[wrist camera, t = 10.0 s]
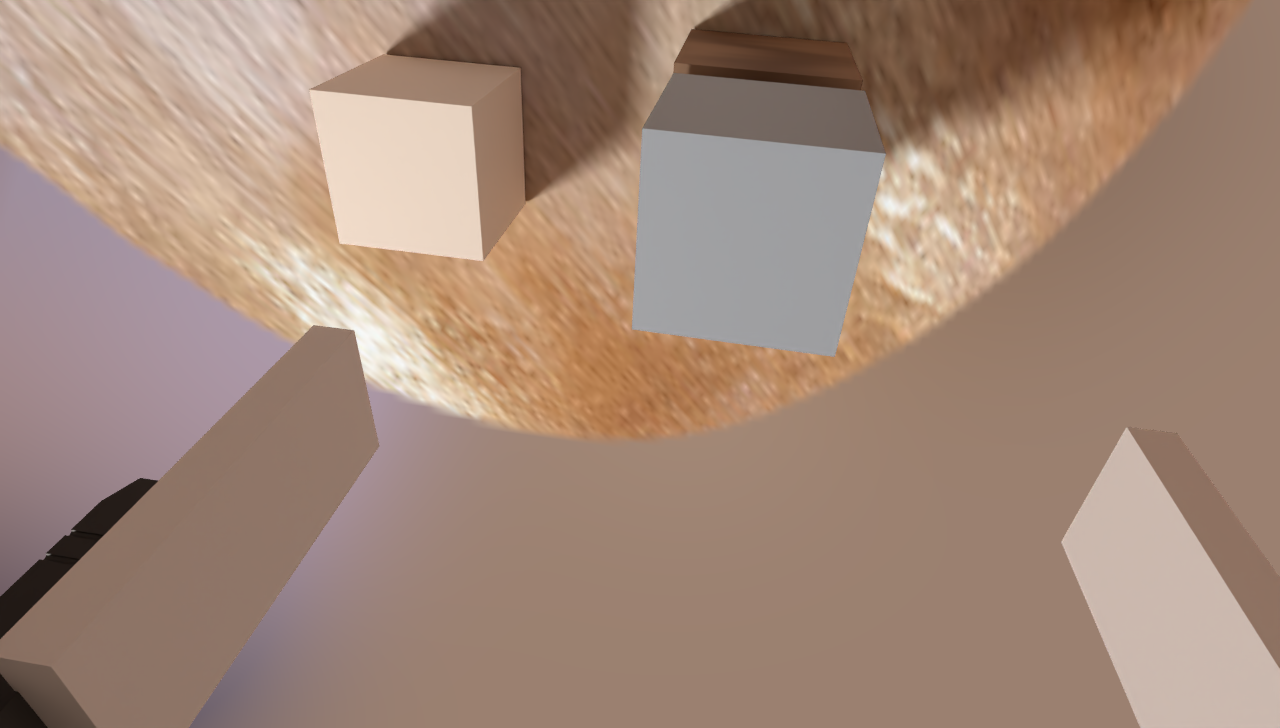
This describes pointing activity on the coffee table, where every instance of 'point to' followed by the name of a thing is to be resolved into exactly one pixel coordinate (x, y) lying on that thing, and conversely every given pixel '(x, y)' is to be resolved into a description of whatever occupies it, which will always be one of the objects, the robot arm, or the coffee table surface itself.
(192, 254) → the coffee table surface
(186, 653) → the robot arm
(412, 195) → the cream brick
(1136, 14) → the coffee table surface
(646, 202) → the slate brick
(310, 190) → the coffee table surface
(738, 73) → the walnut base brick
